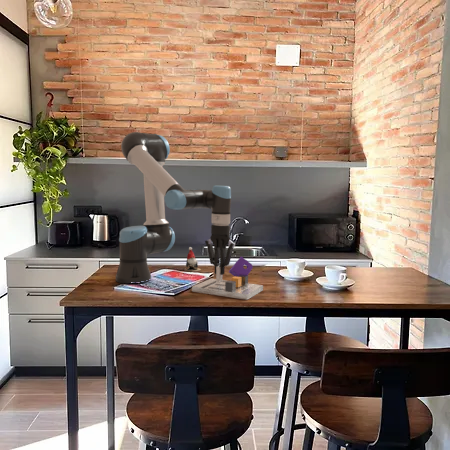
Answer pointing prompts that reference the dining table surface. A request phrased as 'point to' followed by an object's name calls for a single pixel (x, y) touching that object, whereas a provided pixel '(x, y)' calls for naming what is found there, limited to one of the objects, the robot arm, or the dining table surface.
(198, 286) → the panel
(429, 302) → the dining table surface
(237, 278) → the handle
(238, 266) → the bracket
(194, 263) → the figurine
